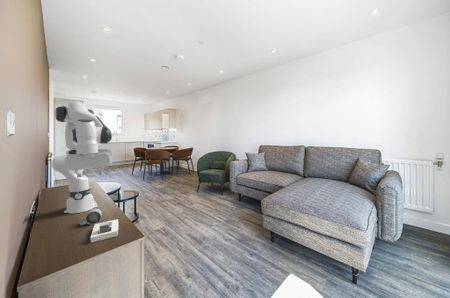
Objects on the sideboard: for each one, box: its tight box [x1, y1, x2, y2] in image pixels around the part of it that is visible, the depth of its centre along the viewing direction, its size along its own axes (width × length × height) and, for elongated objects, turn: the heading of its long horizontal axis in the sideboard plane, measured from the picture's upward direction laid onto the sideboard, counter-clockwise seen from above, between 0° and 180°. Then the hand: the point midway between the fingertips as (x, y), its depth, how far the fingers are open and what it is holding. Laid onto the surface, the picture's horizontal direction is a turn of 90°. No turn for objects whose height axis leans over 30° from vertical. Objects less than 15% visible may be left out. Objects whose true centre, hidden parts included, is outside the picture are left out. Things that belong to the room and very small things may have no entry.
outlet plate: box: [90, 219, 119, 243], centre depth 97 cm, size 16×11×2 cm
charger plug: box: [99, 221, 110, 234], centre depth 94 cm, size 4×4×6 cm
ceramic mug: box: [79, 208, 103, 226], centre depth 109 cm, size 11×8×8 cm
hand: (90, 175), depth 100 cm, fingers open, 8 cm apart
